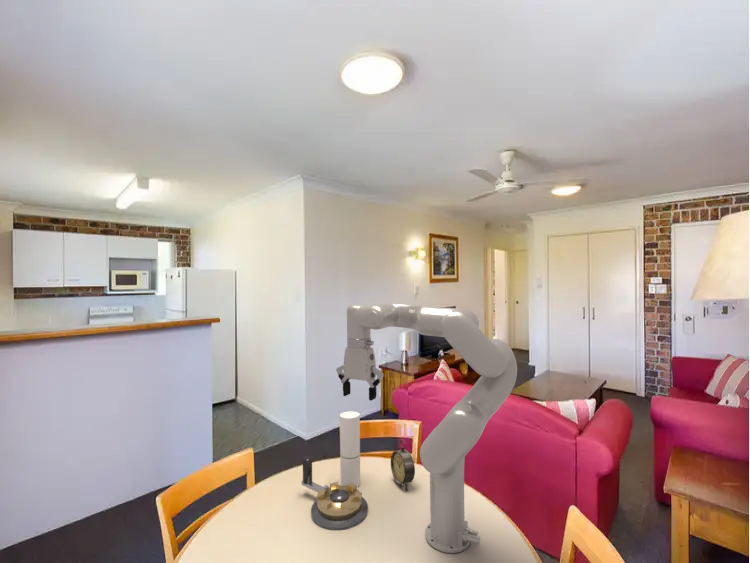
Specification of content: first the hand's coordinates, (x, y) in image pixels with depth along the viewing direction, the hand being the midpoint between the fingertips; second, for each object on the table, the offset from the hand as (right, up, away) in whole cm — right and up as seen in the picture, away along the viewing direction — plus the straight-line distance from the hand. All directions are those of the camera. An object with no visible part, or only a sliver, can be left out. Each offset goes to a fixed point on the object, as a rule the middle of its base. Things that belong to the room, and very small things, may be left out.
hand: (359, 397), depth 116 cm
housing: (-6, -36, 0) cm, 37 cm away
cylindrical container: (-4, -37, +16) cm, 40 cm away
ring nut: (-10, -35, +3) cm, 36 cm away
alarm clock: (+15, -37, +15) cm, 42 cm away
